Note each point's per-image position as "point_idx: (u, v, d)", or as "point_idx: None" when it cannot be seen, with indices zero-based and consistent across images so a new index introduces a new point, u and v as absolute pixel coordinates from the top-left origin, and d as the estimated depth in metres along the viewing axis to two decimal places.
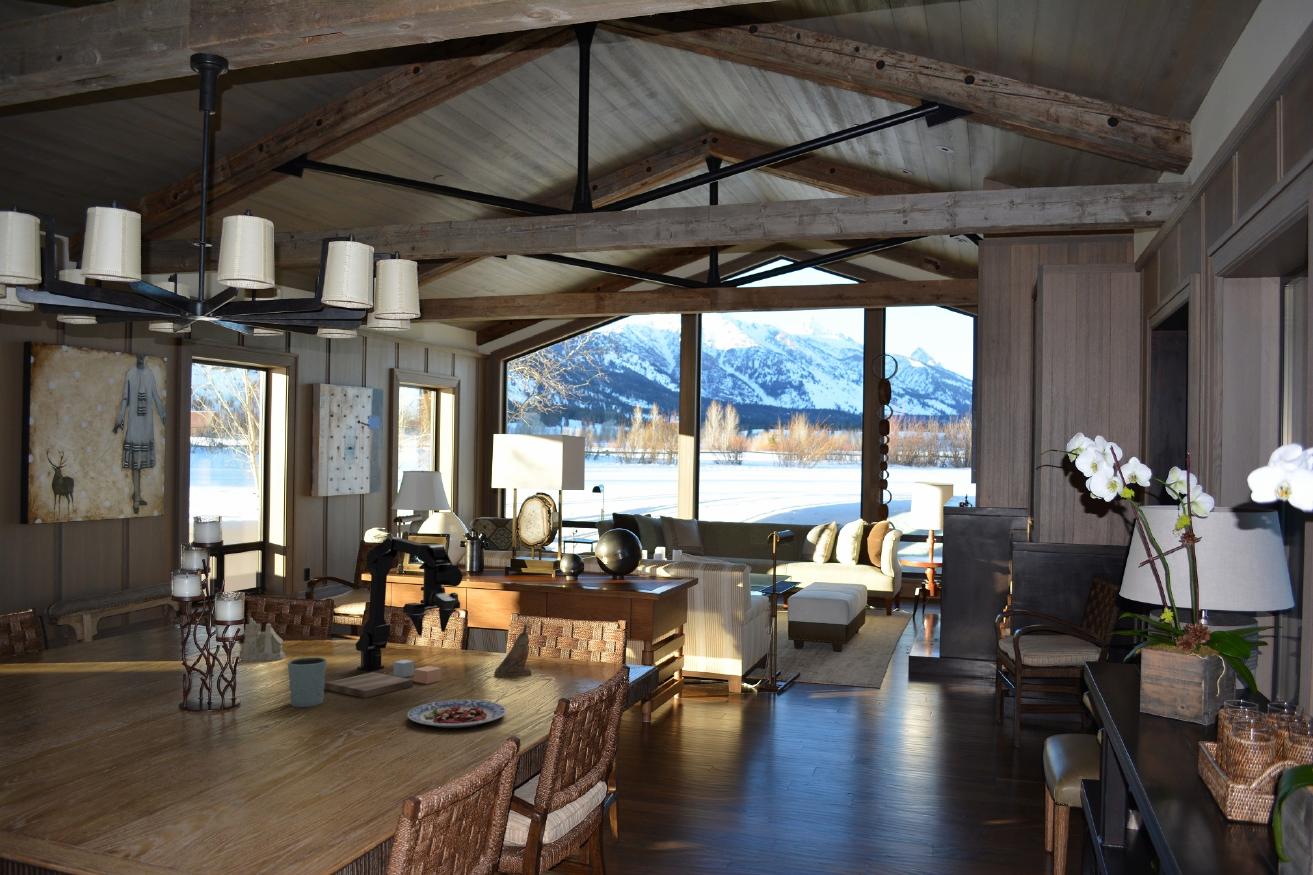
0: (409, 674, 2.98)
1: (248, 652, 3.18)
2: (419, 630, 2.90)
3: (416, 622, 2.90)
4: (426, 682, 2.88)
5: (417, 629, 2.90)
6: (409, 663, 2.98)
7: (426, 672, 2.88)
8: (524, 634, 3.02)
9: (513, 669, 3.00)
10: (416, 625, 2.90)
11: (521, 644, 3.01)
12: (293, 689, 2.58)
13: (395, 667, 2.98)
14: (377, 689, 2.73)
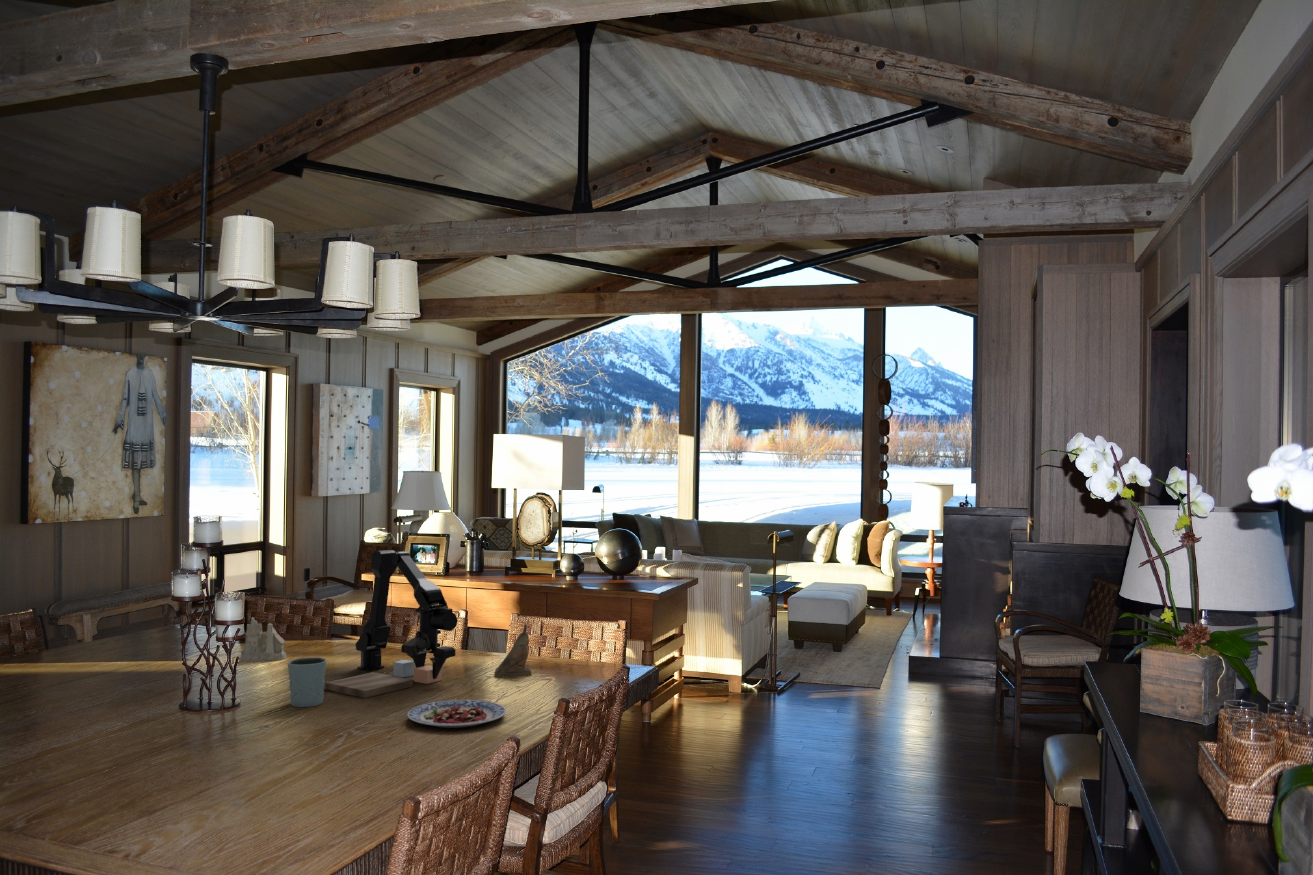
0: (409, 674, 2.98)
1: (250, 652, 3.19)
2: None
3: None
4: (426, 681, 2.88)
5: None
6: (409, 663, 2.98)
7: (426, 671, 2.88)
8: (524, 634, 3.02)
9: (513, 669, 3.00)
10: None
11: (521, 644, 3.01)
12: (293, 689, 2.58)
13: (395, 667, 2.98)
14: (377, 689, 2.73)
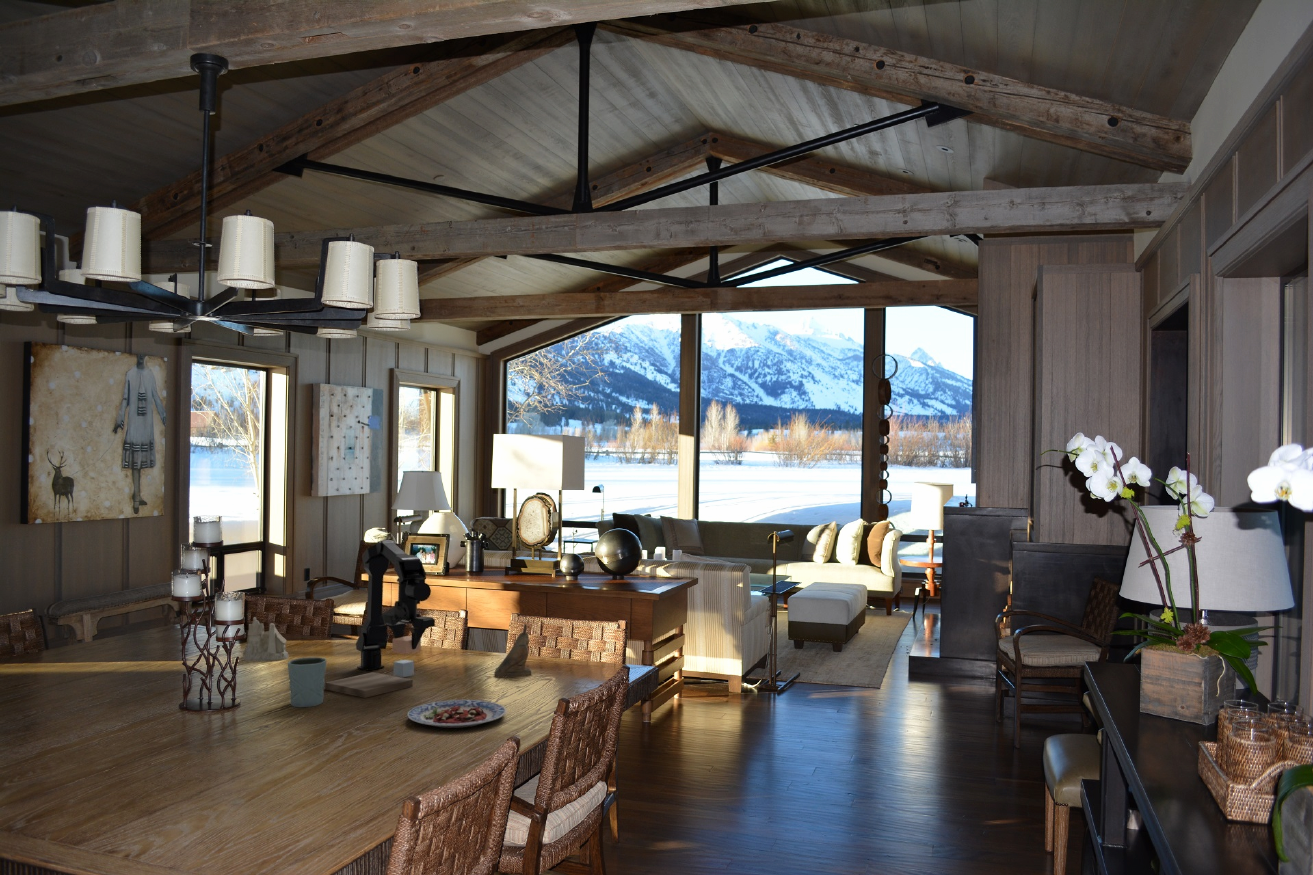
0: (409, 674, 2.98)
1: (252, 652, 3.19)
2: None
3: None
4: (405, 652, 2.84)
5: None
6: (409, 663, 2.98)
7: (405, 642, 2.84)
8: (524, 634, 3.02)
9: (513, 669, 3.00)
10: None
11: (521, 644, 3.01)
12: (293, 689, 2.58)
13: (395, 667, 2.98)
14: (377, 689, 2.73)
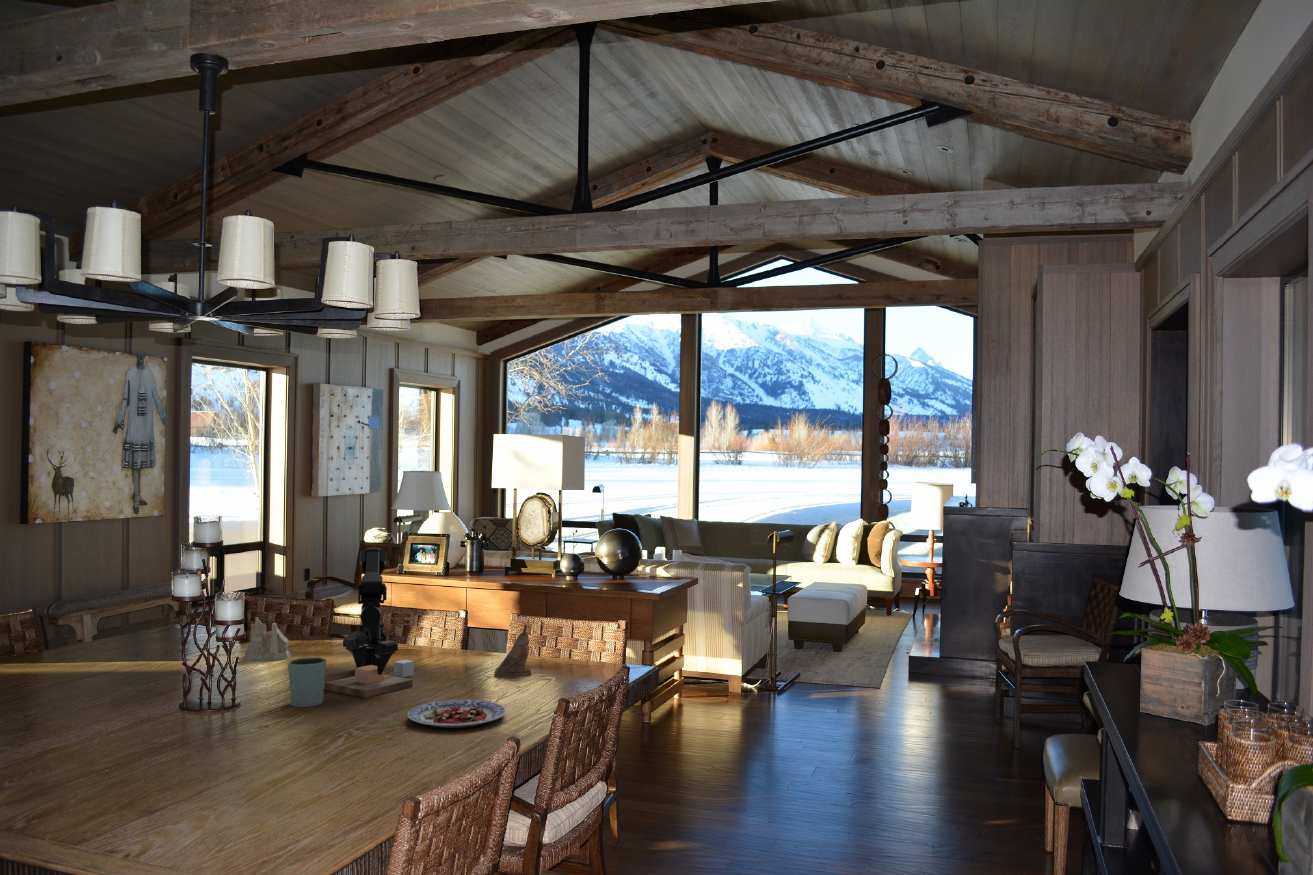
0: (409, 674, 2.98)
1: (254, 652, 3.19)
2: None
3: None
4: (367, 682, 2.78)
5: None
6: (409, 663, 2.98)
7: (367, 671, 2.78)
8: (524, 634, 3.02)
9: (513, 669, 3.00)
10: None
11: (521, 644, 3.01)
12: (293, 689, 2.58)
13: (395, 667, 2.98)
14: (377, 689, 2.73)
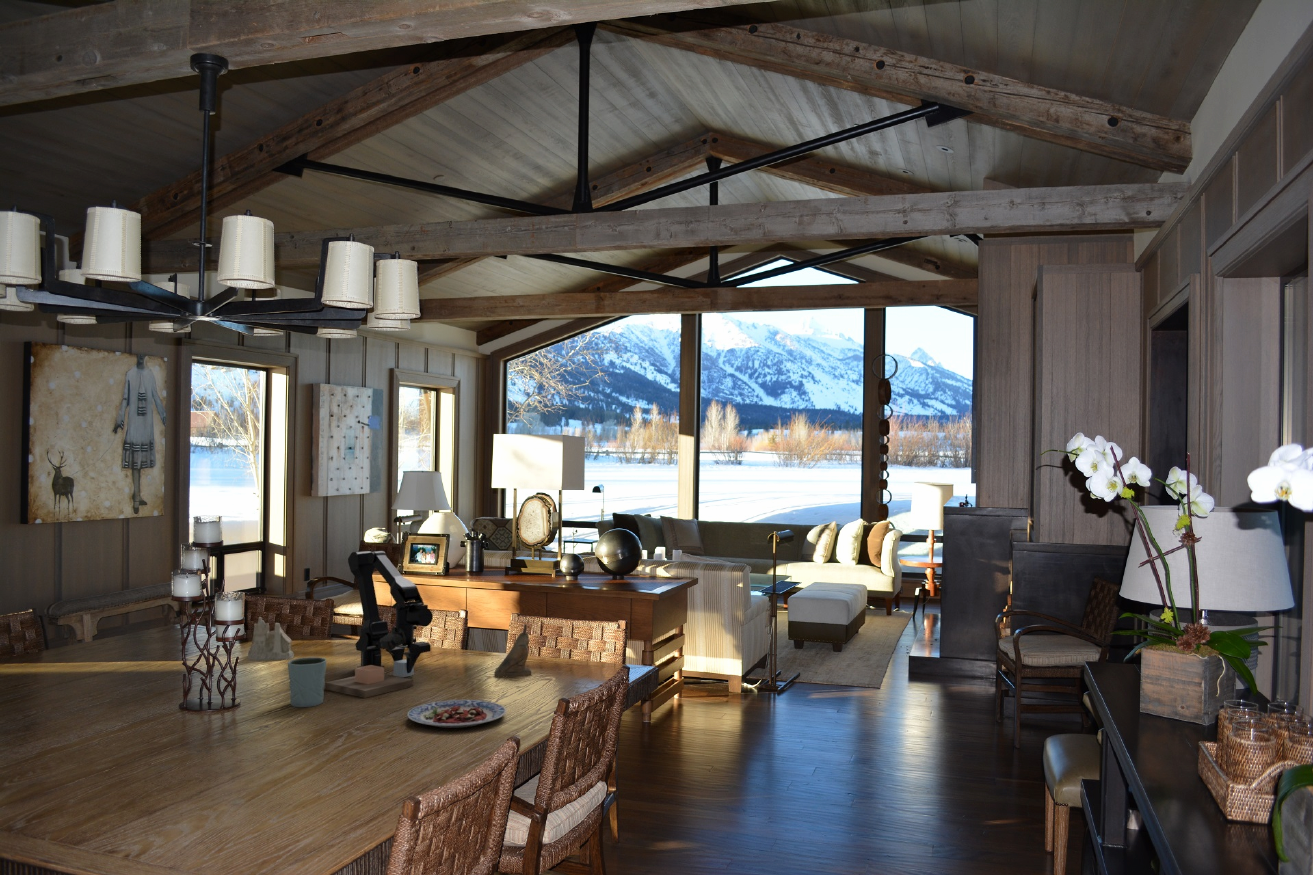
0: (409, 674, 2.98)
1: (257, 652, 3.20)
2: None
3: None
4: (367, 682, 2.78)
5: None
6: None
7: (367, 671, 2.78)
8: (524, 634, 3.02)
9: (513, 669, 3.00)
10: None
11: (521, 644, 3.01)
12: (293, 689, 2.58)
13: (395, 667, 2.98)
14: (377, 689, 2.73)
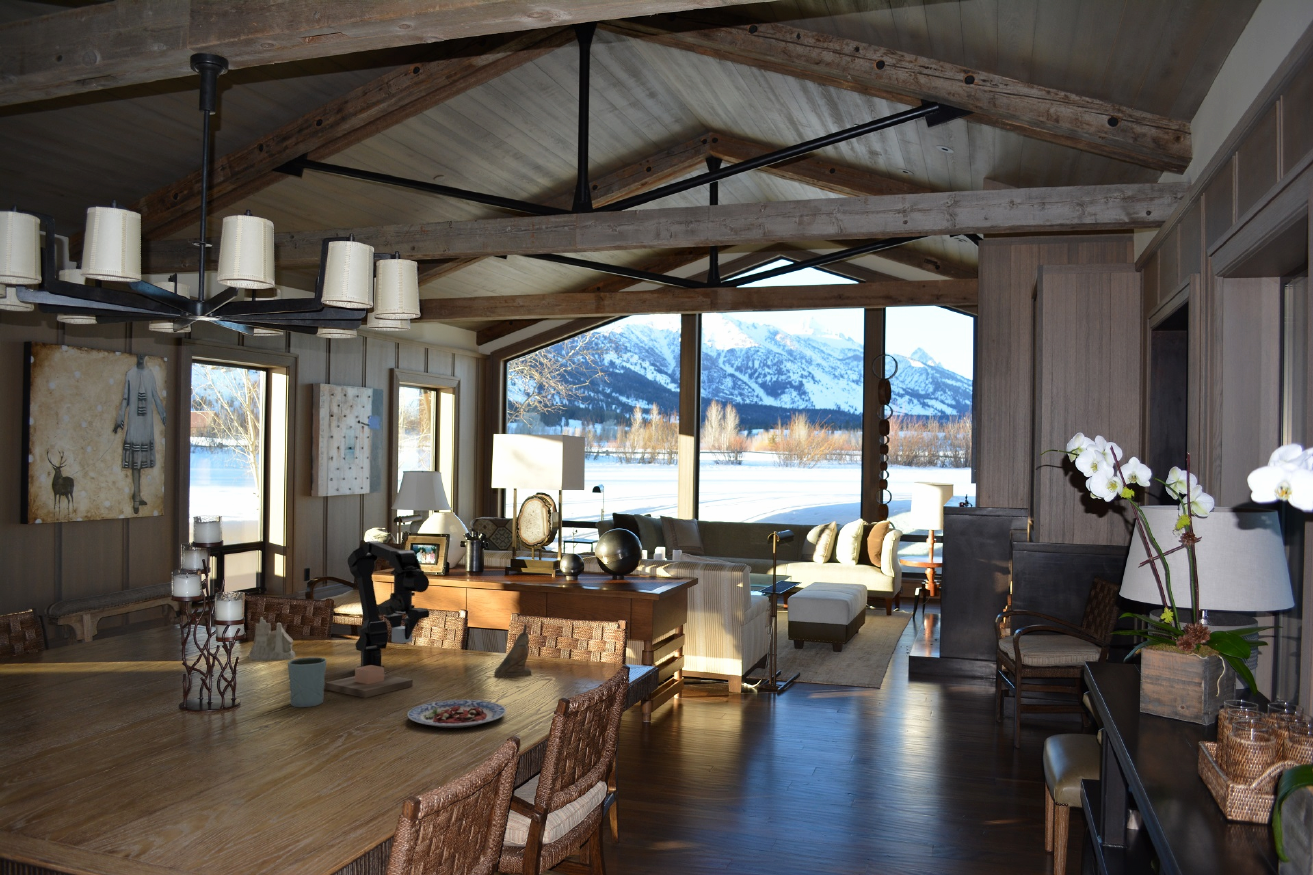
0: (407, 640, 2.97)
1: (259, 652, 3.20)
2: None
3: None
4: (367, 682, 2.78)
5: None
6: None
7: (367, 671, 2.78)
8: (524, 634, 3.02)
9: (513, 669, 3.00)
10: None
11: (521, 644, 3.01)
12: (293, 689, 2.58)
13: (393, 633, 2.97)
14: (377, 689, 2.73)
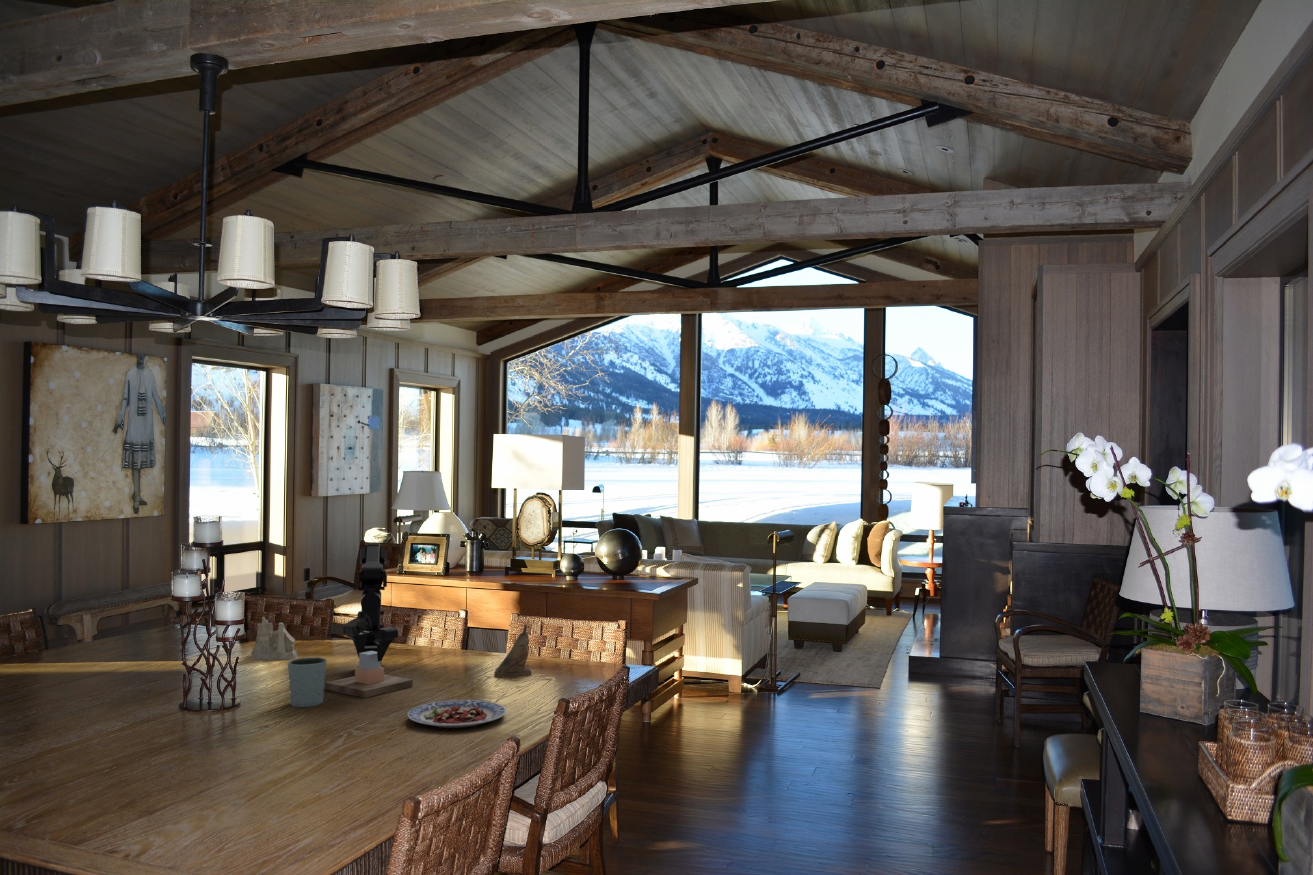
0: (376, 666, 2.81)
1: (261, 651, 3.20)
2: None
3: None
4: (367, 682, 2.78)
5: None
6: (376, 654, 2.81)
7: (367, 671, 2.78)
8: (524, 634, 3.02)
9: (513, 669, 3.00)
10: None
11: (521, 644, 3.01)
12: (293, 689, 2.58)
13: (361, 659, 2.81)
14: (377, 689, 2.73)
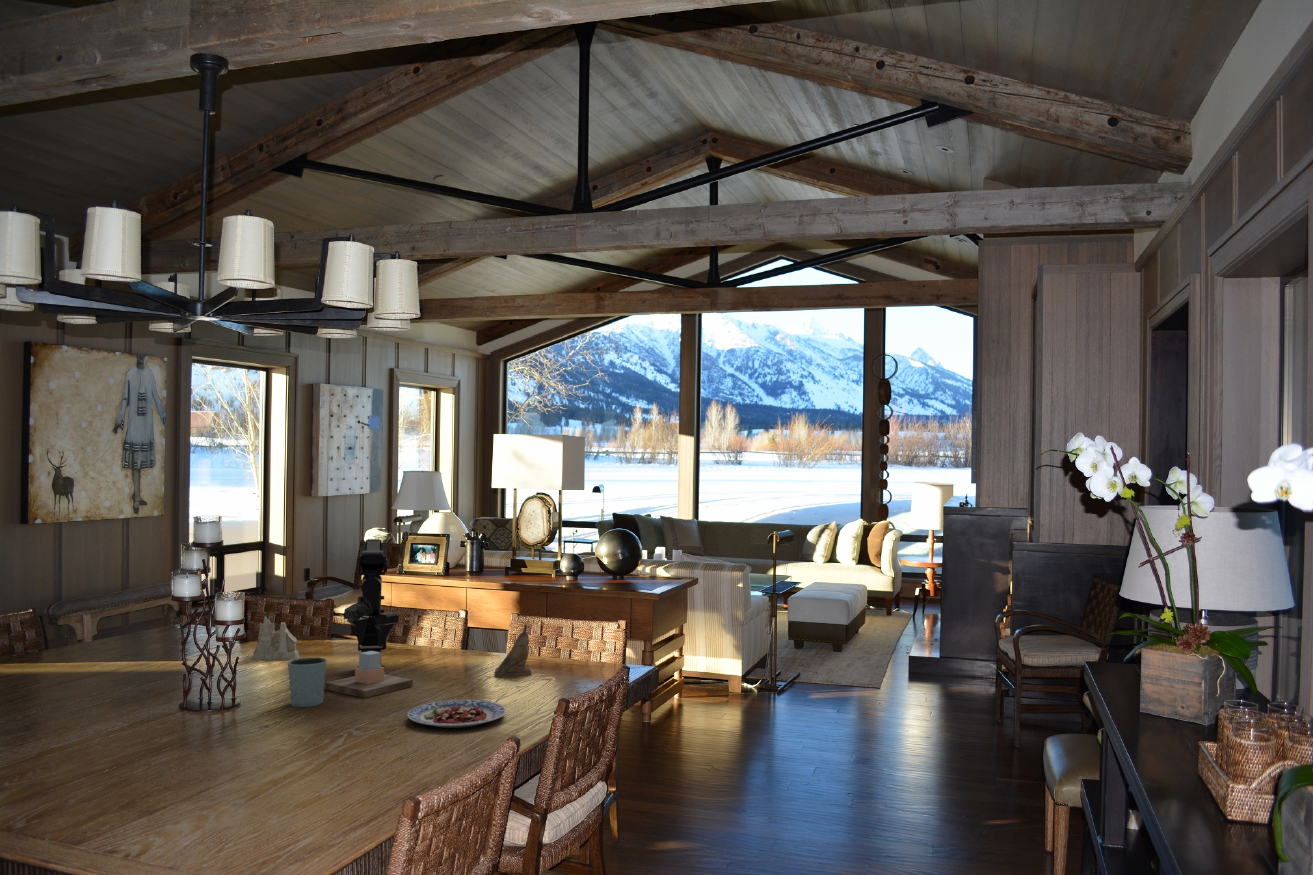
0: (376, 666, 2.81)
1: (263, 651, 3.21)
2: None
3: None
4: (367, 682, 2.78)
5: None
6: (376, 654, 2.81)
7: (367, 671, 2.78)
8: (524, 634, 3.02)
9: (513, 669, 3.00)
10: None
11: (521, 644, 3.01)
12: (293, 689, 2.58)
13: (361, 659, 2.81)
14: (377, 689, 2.73)
